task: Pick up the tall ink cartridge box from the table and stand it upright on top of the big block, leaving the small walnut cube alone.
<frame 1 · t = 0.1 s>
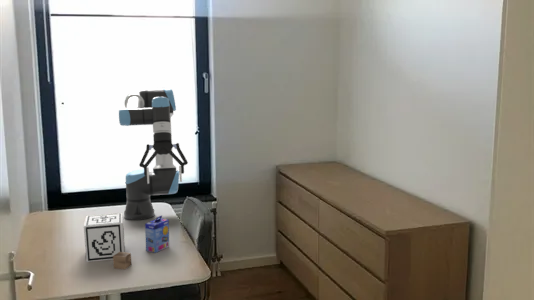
hand: (164, 182, 248), 28 cm above the table, tool tilted 20°, fingers open, 13 cm apart
block: (106, 254, 244), on the table
walnut cube: (122, 266, 230), on the table
ink cartridge box: (158, 249, 249), on the table
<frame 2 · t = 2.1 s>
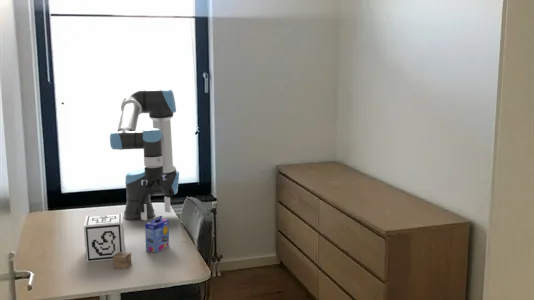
hand: (156, 215, 246), 15 cm above the table, tool pointing down, fingers open, 13 cm apart
nothing on the table moved.
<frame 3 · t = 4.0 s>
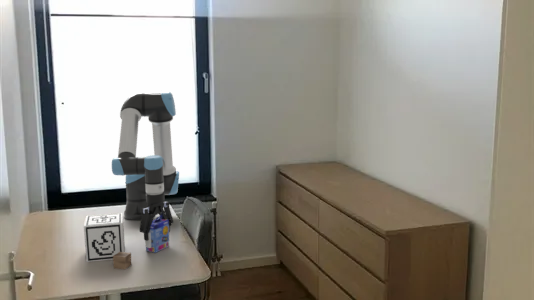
hand: (157, 243, 249), 2 cm above the table, tool pointing down, fingers closed on ink cartridge box, 10 cm apart
ink cartridge box: (158, 249, 249), on the table, touching gripper
everything else where it was.
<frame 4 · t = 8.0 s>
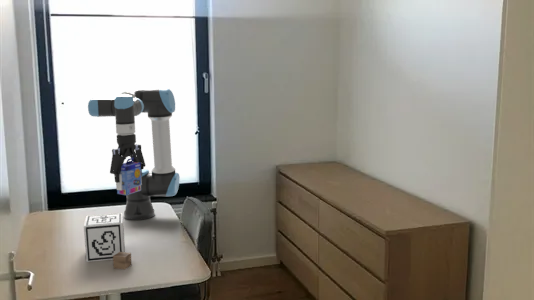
hand: (129, 187, 242), 28 cm above the table, tool pointing down, fingers closed on ink cartridge box, 10 cm apart
ink cartridge box: (129, 192, 242), point 25 cm above the table, touching gripper
everything else where it was.
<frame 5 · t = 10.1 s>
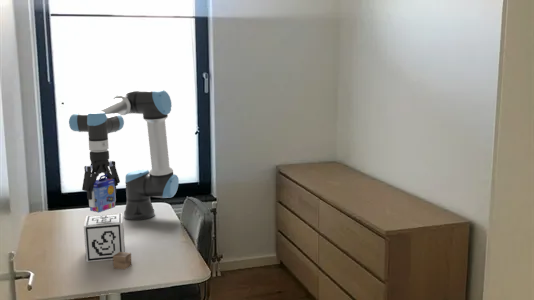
hand: (102, 203, 240), 21 cm above the table, tool pointing down, fingers closed on ink cartridge box, 10 cm apart
ink cartridge box: (103, 209, 241), point 19 cm above the table, touching gripper
everything else where it was.
when the fingers open (19 cm above the table, at t = 11.8 s): ink cartridge box moves 2 cm, point 17 cm above the table.
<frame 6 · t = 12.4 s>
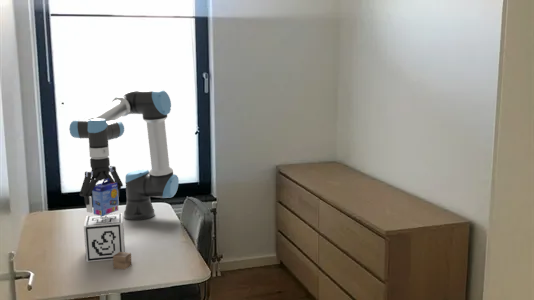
hand: (103, 208, 241), 20 cm above the table, tool pointing down, fingers open, 13 cm apart
ink cartridge box: (106, 213, 242), point 17 cm above the table, touching gripper
everything else where it was.
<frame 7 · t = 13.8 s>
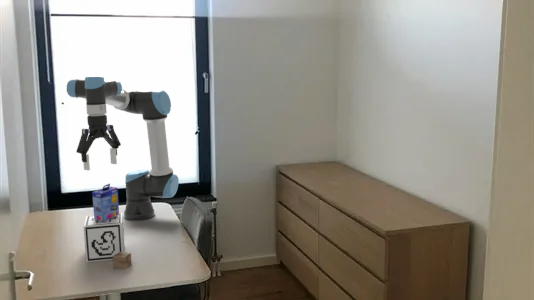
hand: (100, 166, 238), 37 cm above the table, tool pointing down, fingers open, 13 cm apart
ink cartridge box: (107, 218, 243), point 15 cm above the table
everything else where it was.
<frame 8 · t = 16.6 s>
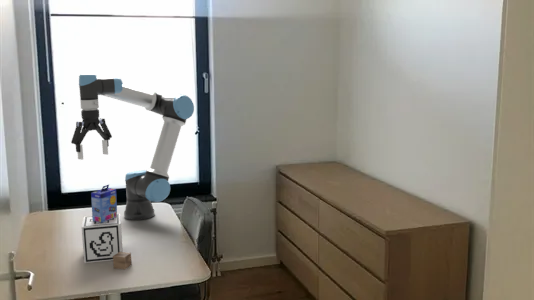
hand: (93, 156, 262), 37 cm above the table, tool pointing down, fingers open, 13 cm apart
block: (104, 255, 243), on the table, touching ink cartridge box
ink cartridge box: (105, 219, 242), point 15 cm above the table, touching block
everything else where it was.
at the end: ink cartridge box inside the target area on the block (1.7 cm from its centre), point 15.0 cm above the block's base; ink cartridge box tilted 0°; the gripper is holding nothing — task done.
